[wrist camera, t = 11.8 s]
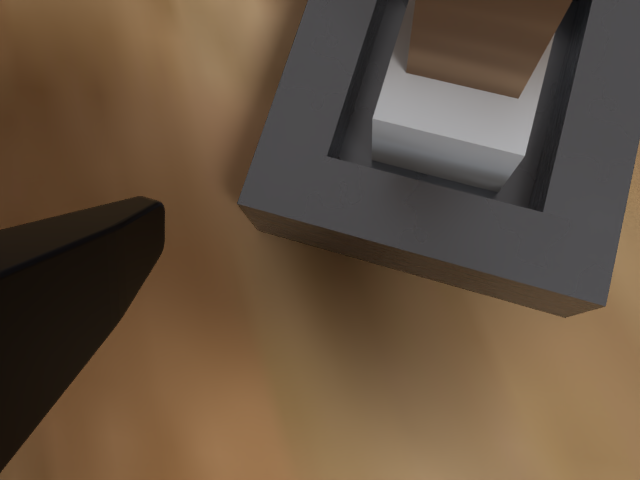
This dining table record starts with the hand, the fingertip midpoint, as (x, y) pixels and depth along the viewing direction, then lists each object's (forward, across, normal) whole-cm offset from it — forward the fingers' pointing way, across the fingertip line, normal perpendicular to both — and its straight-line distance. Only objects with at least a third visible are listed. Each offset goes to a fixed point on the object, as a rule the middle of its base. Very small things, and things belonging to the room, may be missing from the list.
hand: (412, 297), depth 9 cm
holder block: (+12, 0, 0) cm, 12 cm away
